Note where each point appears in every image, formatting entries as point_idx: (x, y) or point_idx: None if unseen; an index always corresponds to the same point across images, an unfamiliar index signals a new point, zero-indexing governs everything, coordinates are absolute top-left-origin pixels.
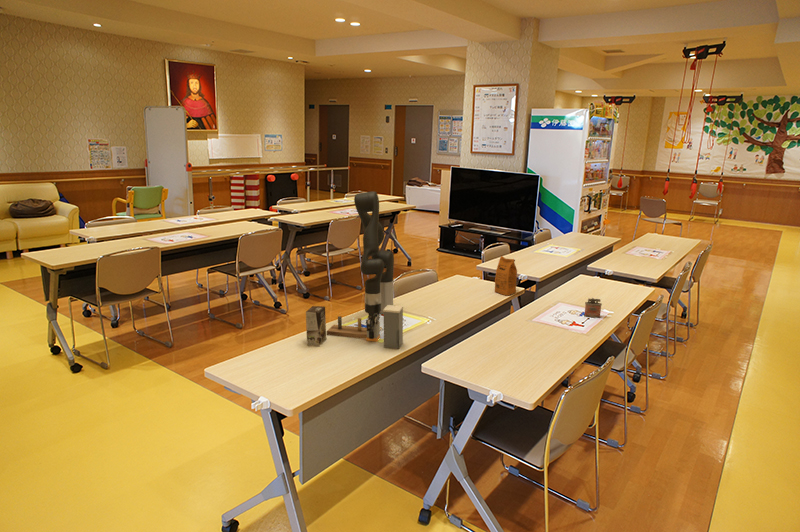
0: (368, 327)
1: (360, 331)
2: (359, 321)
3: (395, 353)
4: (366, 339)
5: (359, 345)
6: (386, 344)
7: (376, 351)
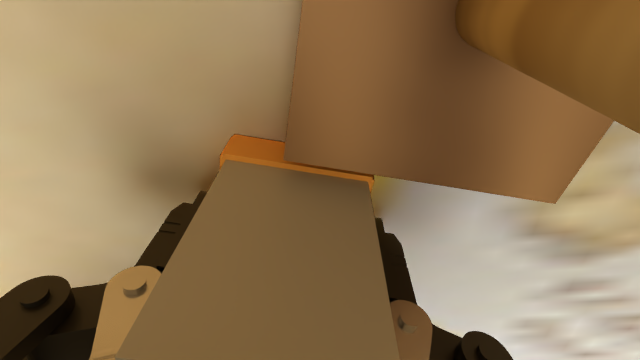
0: (97, 332)
1: (441, 33)
2: (600, 60)
3: None
4: (229, 142)
5: (48, 68)
6: None
7: (4, 250)
